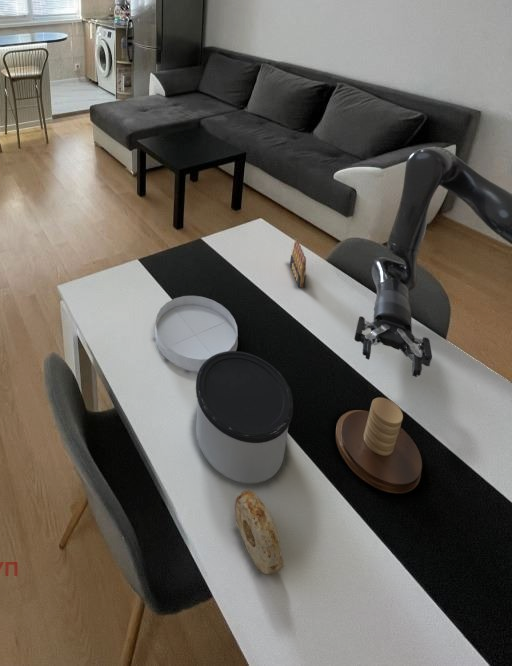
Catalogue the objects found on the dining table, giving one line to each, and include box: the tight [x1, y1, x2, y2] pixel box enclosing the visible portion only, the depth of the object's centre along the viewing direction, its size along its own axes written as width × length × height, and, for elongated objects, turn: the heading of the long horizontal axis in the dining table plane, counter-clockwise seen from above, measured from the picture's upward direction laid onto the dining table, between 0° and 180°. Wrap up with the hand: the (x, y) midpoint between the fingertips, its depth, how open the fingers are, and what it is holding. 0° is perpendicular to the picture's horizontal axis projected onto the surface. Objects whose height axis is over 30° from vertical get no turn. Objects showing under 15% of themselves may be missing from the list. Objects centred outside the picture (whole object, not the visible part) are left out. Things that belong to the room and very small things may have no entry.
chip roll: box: [364, 397, 404, 456], centre depth 85 cm, size 5×5×10 cm
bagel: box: [233, 489, 285, 575], centre depth 73 cm, size 10×4×10 cm, turn 19°
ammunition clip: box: [289, 238, 307, 289], centre depth 134 cm, size 11×2×12 cm, turn 172°
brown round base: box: [335, 409, 423, 495], centre depth 87 cm, size 15×15×4 cm
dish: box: [154, 295, 239, 373], centre depth 116 cm, size 22×22×5 cm
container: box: [195, 350, 294, 484], centre depth 89 cm, size 19×19×15 cm
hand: (391, 364), depth 91 cm, fingers open, 8 cm apart
